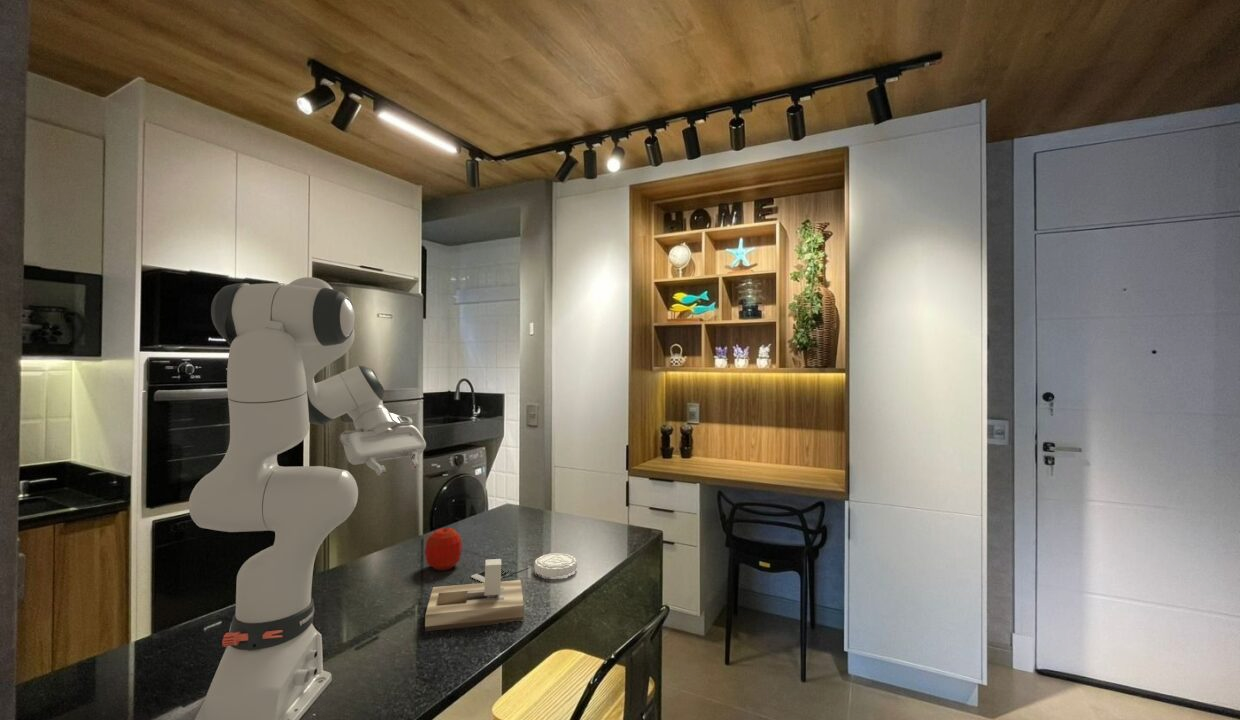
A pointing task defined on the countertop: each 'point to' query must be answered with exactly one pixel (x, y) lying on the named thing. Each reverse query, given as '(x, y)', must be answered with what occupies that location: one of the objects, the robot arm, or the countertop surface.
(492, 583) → the cream peg
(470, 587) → the keyhole plate
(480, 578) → the smartphone
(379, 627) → the countertop surface
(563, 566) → the container lid
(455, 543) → the apple
